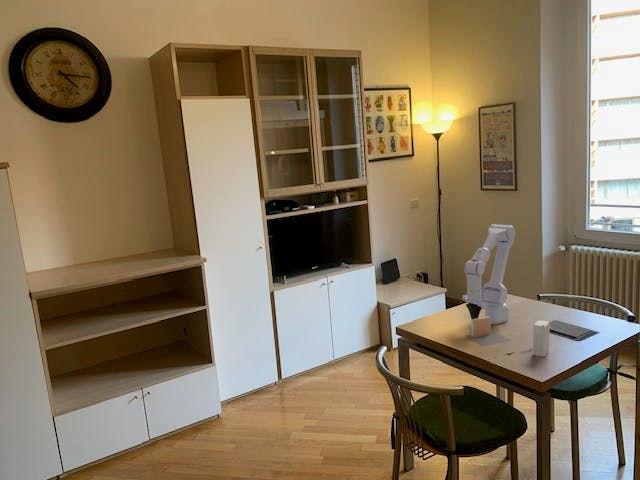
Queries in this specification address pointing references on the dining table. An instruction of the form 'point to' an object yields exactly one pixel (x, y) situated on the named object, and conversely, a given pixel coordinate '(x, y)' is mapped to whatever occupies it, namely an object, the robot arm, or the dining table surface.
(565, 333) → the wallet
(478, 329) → the tile
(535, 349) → the skincare box
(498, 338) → the mat
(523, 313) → the dining table surface
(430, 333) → the dining table surface
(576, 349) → the dining table surface
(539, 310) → the dining table surface
